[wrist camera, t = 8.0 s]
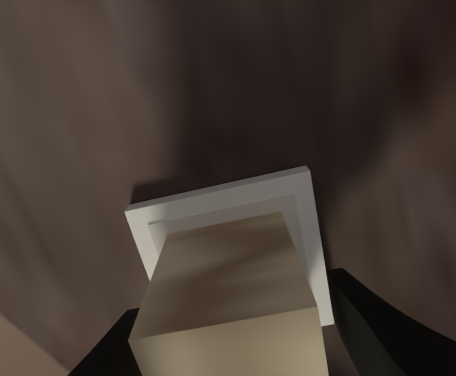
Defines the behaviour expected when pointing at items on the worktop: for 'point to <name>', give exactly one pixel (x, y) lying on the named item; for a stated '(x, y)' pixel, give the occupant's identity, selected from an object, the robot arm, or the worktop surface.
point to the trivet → (235, 210)
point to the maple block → (229, 305)
